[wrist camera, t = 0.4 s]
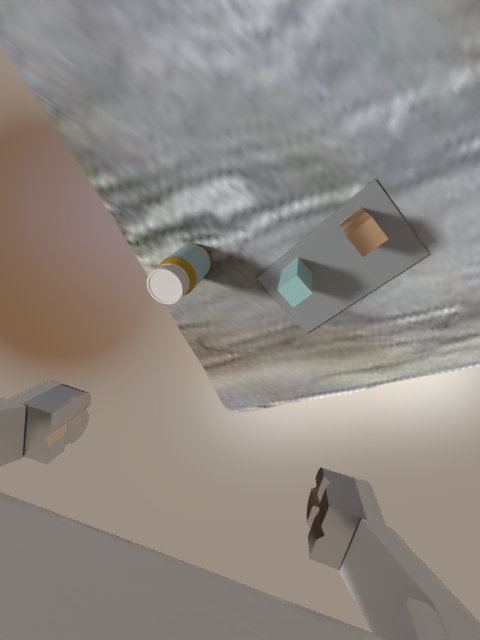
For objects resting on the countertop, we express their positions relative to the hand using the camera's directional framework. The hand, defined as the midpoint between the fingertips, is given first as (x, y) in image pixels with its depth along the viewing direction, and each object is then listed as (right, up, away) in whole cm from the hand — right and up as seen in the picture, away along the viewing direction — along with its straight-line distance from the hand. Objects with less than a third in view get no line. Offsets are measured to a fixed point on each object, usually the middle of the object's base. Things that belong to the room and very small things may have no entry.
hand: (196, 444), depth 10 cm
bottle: (-8, +17, +49) cm, 53 cm away
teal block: (+12, +14, +46) cm, 49 cm away
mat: (+19, +14, +44) cm, 50 cm away
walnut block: (+22, +21, +40) cm, 50 cm away
